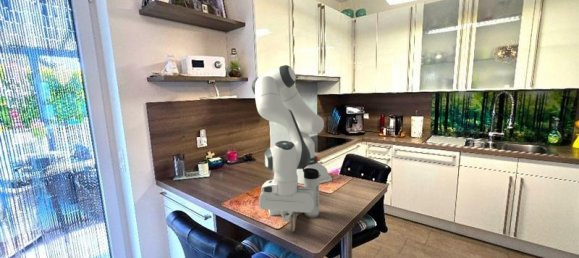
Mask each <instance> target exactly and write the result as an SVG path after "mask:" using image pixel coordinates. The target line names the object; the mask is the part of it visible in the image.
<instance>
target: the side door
mask: <svg viewBox="0 0 579 258" xmlns="http://www.w3.org/2000/svg"><path fill="white" fill-rule="evenodd" d="M298 214H299V212H292V214H291V216H290V221H289V223H290V233H291V232H292V233H294V231H295V229H296V223H297V218H298Z"/></svg>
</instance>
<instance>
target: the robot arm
mask: <svg viewBox="0 0 579 258" xmlns="http://www.w3.org/2000/svg"><path fill="white" fill-rule="evenodd" d="M296 81H297V76H296V73H295V71H294V70H293V68H292V67H291V66H289V65H287V64H285V65H281V66H279V67H276V68H273V69H270V70H269V71H267V72H266V73H264V74H262V75H260V76H259V77H256V78H255V79H254V80H253V81H252V84H251V89H252V92H253V94H254V97H255V98H254V99H255V105H256V109H257V113H258V115H259V116H261V118H263V119H265V120H266V121H269V122H273V123H276V124H278V125H281V126H283V127H284V128H285V129H286V130H287V132H288V135H289V138H290V140H291V141H290V140H289V141H288V140H280V141H277V142H275V143H274V145H273V146H271V147H268V148H267V149H266V151H265V152H264V154H263V155H264V156H263V159H264V167H265V168H266V169H267V170H269V171H270V172H273V179H268V180H266V181H265V182H264V183H262V186H261V188H260V191H261V193H260V194H259V197H258V198H259V200H258V207H259V208H260V209H261V210H264V211H267V210H278V211H280V215H281V217H282V222H289V223H290V216H291V214H292V212H298V213H304V212H305V213H311V212H312V211H313V208H314V203H313V198H314V190H313V189H312V188H310V187H304V186H300V185H298V184H301V185H304V172H303V169H305V168H313V169H317V170H318V171H319V185H320V184H324V183H329V182H332V181H333V178H332V176H331V175H330V174H329V172H328V169H327V168H326V166H325V165H323V164H322V163H320V161H321V160H322V158H321V157H319V156H316V152H315V147H316V145H315V142H314V140H313V139H312V138H311V136H310V135H318V134H320V133H321V132H322V131H323V129H324V127H325V121H324V119H323V117H321V116H320V115H319V114H317V113H316V112H315V111H313V110H312V108H311V107H310V106H308V104H307V103H306V102H305V100H304V99H303V97H302V95H301V94H300V93H299V91H298V88H297V86H296ZM310 189H311V190H310ZM284 211H288V213H287V214H288V215H287V214H285V213H284ZM305 213H304V214H305Z"/></svg>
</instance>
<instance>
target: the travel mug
mask: <svg viewBox="0 0 579 258" xmlns="http://www.w3.org/2000/svg"><path fill="white" fill-rule="evenodd" d="M303 172H304V184H303V187H310V188H312V189H313V190H314V198H313V203H314V208H313V211H312V212H311V213H305V212H303V213H304V216H306V217H307V218H310V219H311V218H312V219H314V218H317V217H319V215H320V184H319V171H318V170H317V169H313V168H305V169H303ZM310 190H311V189H310Z"/></svg>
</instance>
